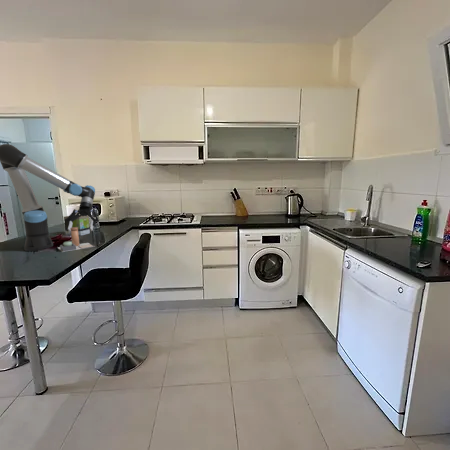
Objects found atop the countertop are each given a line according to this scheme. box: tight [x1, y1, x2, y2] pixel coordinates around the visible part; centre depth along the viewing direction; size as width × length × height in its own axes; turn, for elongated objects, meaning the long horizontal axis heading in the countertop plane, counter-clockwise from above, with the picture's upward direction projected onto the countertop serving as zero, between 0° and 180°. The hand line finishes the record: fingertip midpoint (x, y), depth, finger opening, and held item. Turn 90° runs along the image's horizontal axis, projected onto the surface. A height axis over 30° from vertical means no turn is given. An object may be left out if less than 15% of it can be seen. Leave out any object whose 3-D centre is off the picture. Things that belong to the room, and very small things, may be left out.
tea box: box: [63, 215, 91, 236], centre depth 211 cm, size 15×10×15 cm
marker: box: [70, 227, 80, 246], centre depth 171 cm, size 4×4×12 cm
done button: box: [62, 241, 72, 247], centre depth 162 cm, size 4×4×3 cm
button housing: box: [59, 243, 77, 253], centre depth 162 cm, size 7×7×3 cm
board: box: [57, 242, 96, 253], centre depth 168 cm, size 18×14×1 cm
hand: (80, 230), depth 175 cm, fingers open, 13 cm apart
